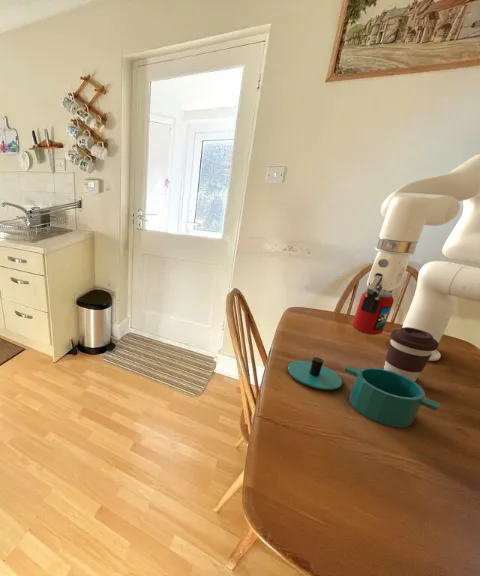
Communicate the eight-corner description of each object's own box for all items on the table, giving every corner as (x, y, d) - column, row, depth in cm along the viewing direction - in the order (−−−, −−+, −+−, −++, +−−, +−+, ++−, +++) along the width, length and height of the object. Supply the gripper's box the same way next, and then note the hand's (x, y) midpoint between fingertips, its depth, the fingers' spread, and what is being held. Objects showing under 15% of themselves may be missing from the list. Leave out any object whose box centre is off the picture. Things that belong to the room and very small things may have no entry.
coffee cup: (430, 388, 89) (451, 343, 84) (390, 384, 91) (408, 339, 86) (406, 368, 98) (423, 326, 93) (370, 364, 100) (385, 323, 95)
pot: (349, 381, 92) (357, 357, 89) (433, 420, 78) (447, 393, 75) (329, 398, 86) (338, 372, 83) (417, 443, 72) (432, 414, 69)
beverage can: (383, 339, 85) (398, 298, 81) (352, 332, 88) (365, 293, 84) (379, 328, 90) (393, 290, 86) (350, 323, 94) (362, 285, 89)
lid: (300, 359, 103) (305, 343, 101) (349, 381, 93) (355, 363, 90) (278, 373, 96) (282, 356, 94) (327, 398, 86) (333, 379, 84)
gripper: (402, 253, 73) (378, 321, 79) (426, 244, 82) (402, 306, 88) (363, 247, 79) (343, 311, 85) (390, 239, 87) (370, 297, 94)
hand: (373, 308), depth 87 cm, fingers closed on beverage can, 6 cm apart
